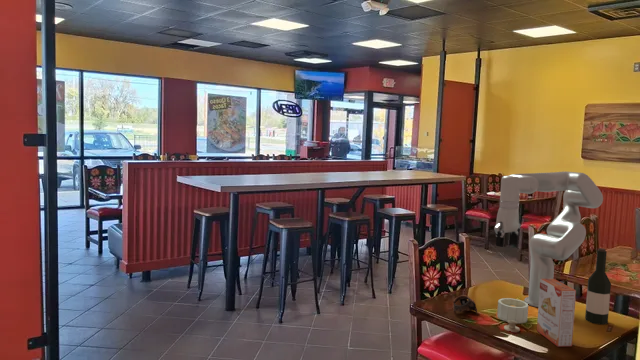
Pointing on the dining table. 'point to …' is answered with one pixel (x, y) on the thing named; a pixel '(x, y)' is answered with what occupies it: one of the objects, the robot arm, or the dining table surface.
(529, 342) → the dining table surface
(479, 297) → the dining table surface
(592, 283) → the wine bottle
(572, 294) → the cracker box
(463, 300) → the pottery mug
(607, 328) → the dining table surface
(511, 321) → the ball stand
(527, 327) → the dining table surface
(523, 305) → the pale green bowl
